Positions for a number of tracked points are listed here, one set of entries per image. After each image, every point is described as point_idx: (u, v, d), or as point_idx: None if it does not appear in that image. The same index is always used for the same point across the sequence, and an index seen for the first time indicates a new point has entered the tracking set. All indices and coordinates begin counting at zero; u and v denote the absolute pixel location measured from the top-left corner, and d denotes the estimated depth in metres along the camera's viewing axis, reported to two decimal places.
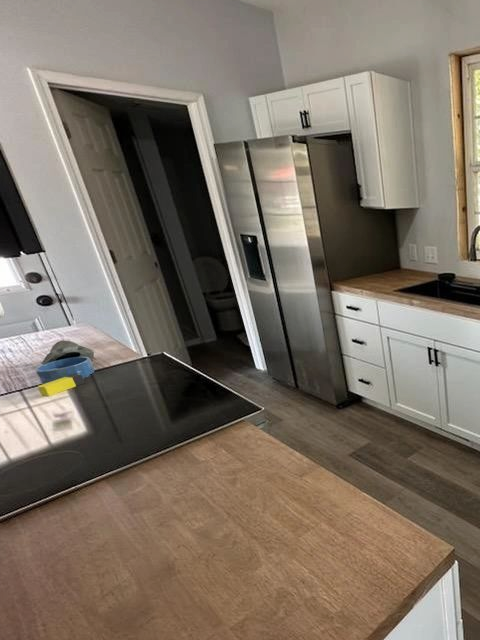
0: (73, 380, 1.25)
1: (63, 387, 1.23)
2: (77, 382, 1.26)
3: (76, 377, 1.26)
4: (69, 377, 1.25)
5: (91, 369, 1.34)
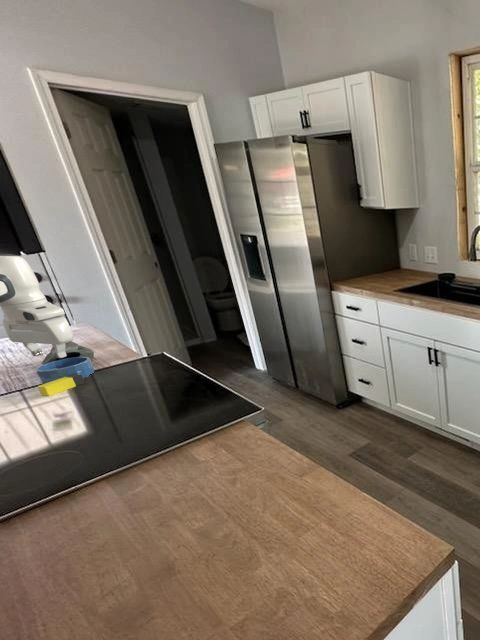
0: (73, 380, 1.25)
1: (63, 387, 1.23)
2: (77, 382, 1.26)
3: (76, 377, 1.26)
4: (69, 377, 1.25)
5: (91, 369, 1.34)
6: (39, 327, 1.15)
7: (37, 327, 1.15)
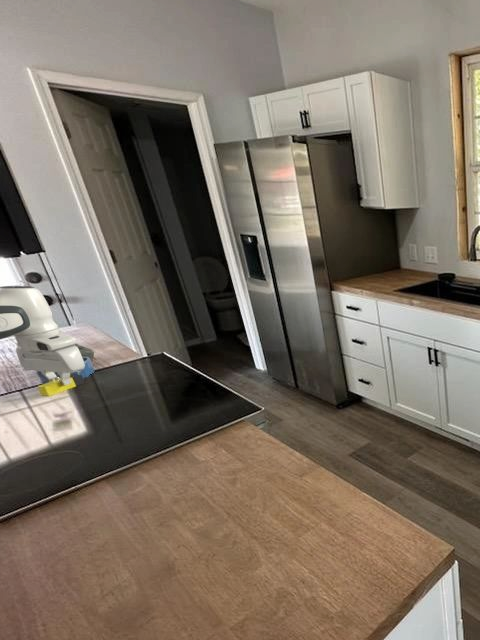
0: (73, 380, 1.25)
1: (63, 387, 1.23)
2: (77, 382, 1.26)
3: (76, 377, 1.26)
4: None
5: (91, 369, 1.34)
6: (52, 356, 1.18)
7: (50, 356, 1.18)
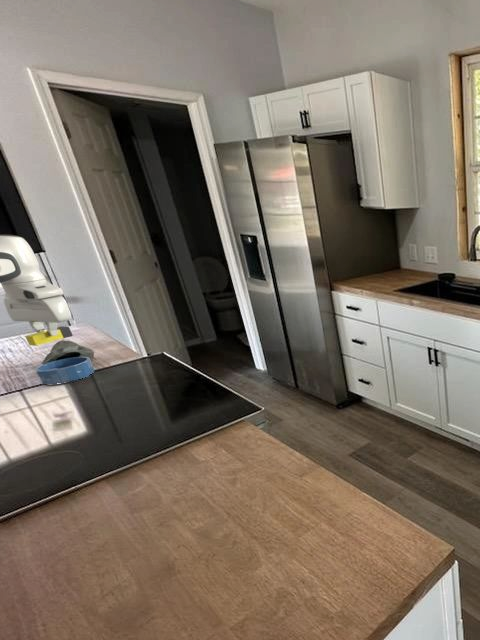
0: (61, 332, 1.28)
1: (51, 338, 1.25)
2: (65, 334, 1.29)
3: (64, 329, 1.28)
4: (57, 329, 1.27)
5: (91, 369, 1.34)
6: (39, 306, 1.20)
7: (37, 306, 1.20)
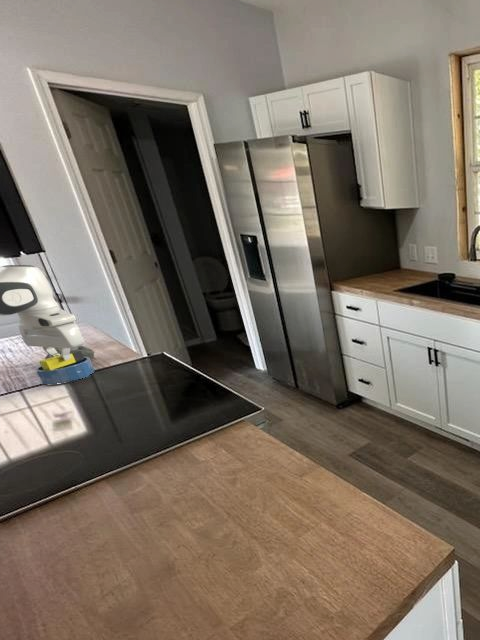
0: (73, 356, 1.32)
1: (64, 363, 1.30)
2: (77, 358, 1.33)
3: (76, 353, 1.33)
4: None
5: (91, 369, 1.34)
6: (52, 332, 1.25)
7: (51, 332, 1.25)
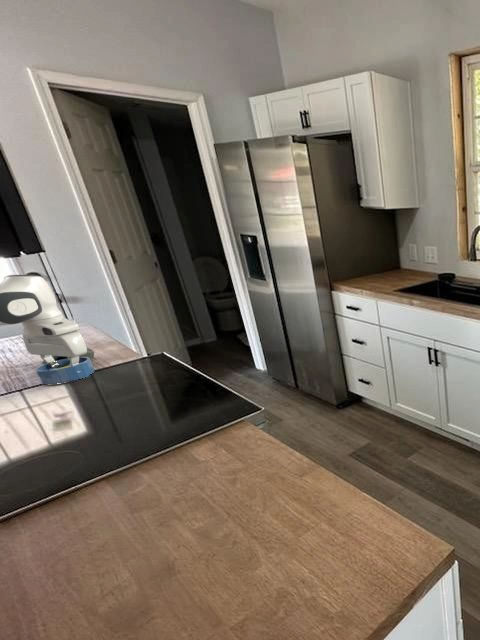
0: None
1: None
2: None
3: None
4: None
5: (91, 369, 1.34)
6: (56, 341, 1.26)
7: (54, 341, 1.26)
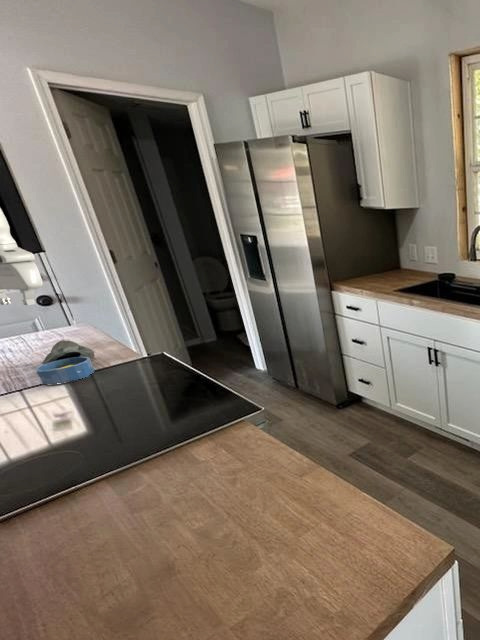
0: None
1: None
2: None
3: None
4: None
5: (91, 369, 1.34)
6: (7, 271, 1.12)
7: (5, 271, 1.12)
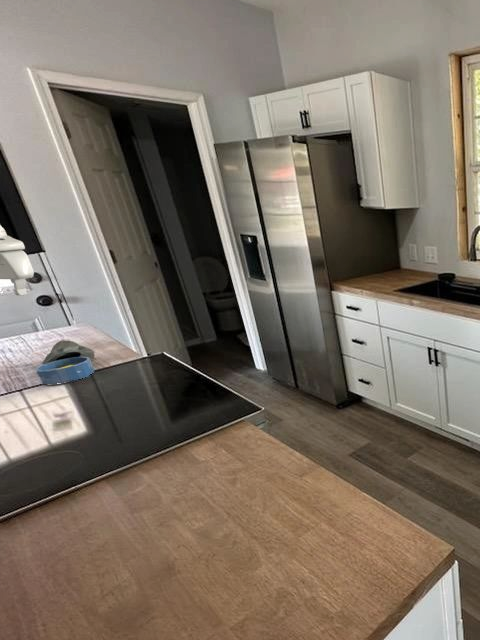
0: None
1: None
2: None
3: None
4: None
5: (91, 369, 1.34)
6: None
7: None
